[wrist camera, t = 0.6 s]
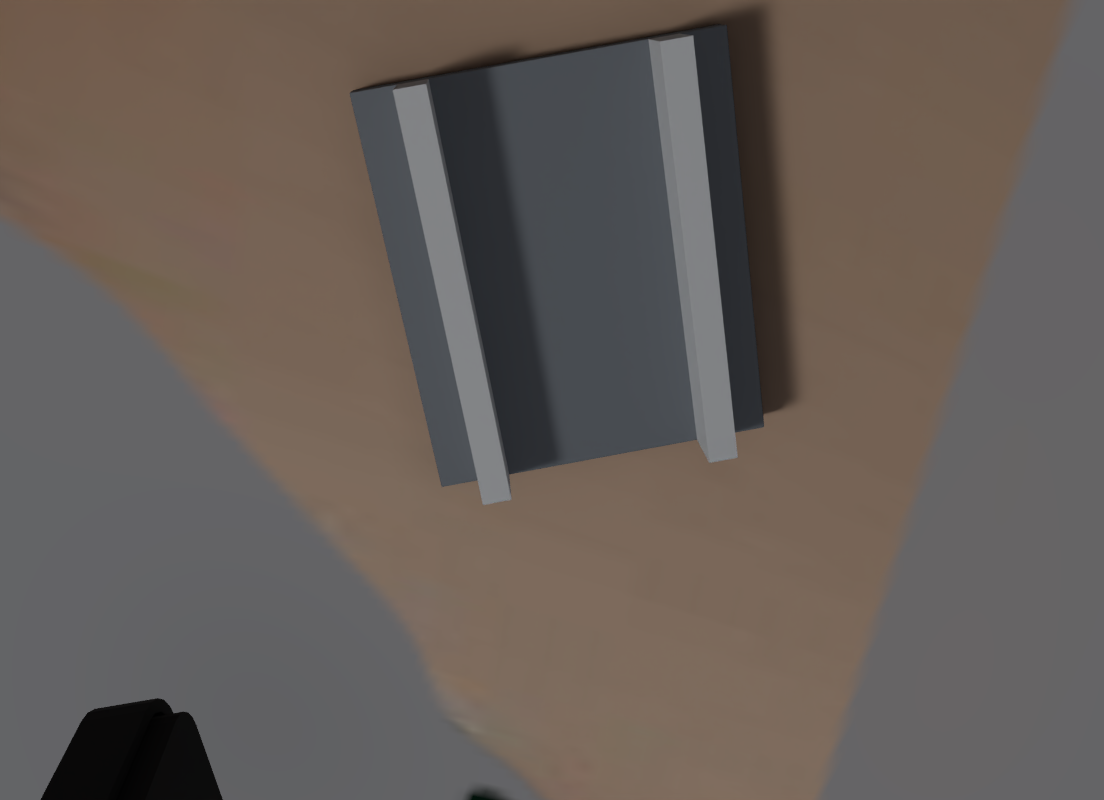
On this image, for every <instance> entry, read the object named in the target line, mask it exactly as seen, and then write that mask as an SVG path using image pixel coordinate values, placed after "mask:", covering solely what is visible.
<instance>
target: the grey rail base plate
mask: <svg viewBox="0 0 1104 800" xmlns="http://www.w3.org/2000/svg"><path fill="white" fill-rule="evenodd" d="M350 97H351V101H352V105H353V110H354V114H355V118H356V122H357V127H358V131H359V135H360V139H361V144H362V148H363V152H364V157H365V161H366V165H367V169H368V174H369V178H370V182H371V186H372V191H373V195H374V199H375V204H376V208H377V212H378V216H379V221H380V225H381V229H382V233H383V238H384V242H385V246H386V251H387V255H388V259H389V263H390V268H391V272H392V276H393V280H394V285H395V289H396V293H397V298H398V302H399V306H400V310H401V315H402V319H403V323H404V327H405V332H406V336H407V340H408V345H409V349H410V353H411V357H412V362H413V366H414V370H415V374H416V379H417V383H418V387H419V392H420V396H421V400H422V404H423V409H424V413H425V417H426V421H427V426H428V430H429V434H430V438H431V443H432V447H433V451H434V456H435V460H436V464H437V468H438V473H439V477H440V481H441V485H442V487H444V486H449V485H454V484H460V483H465V482H471V481H476V480H478V484H479V489H480V493H481V498H482V502H483V505H485V504H491V503H496V502H501V501H507V500H511V489H510V478H509V474H514V473H519V472H524V471H530V470H535V469H541V468H546V467H551V466H557V465H562V464H568V463H573V462H578V461H584V460H589V459H594V458H600V457H605V456H611V455H616V454H621V453H627V452H632V451H638V450H643V449H648V448H654V447H659V446H665V445H670V444H675V443H681V442H686V441H691V440H698V442H699V444H700V446H701V448H702V450H703V452H704V454H705V455H706V457H707V459H708V461H709V463H711V462H717V461H722V460H727V459H733V458H738V457H737V447H736V438H735V432H740V431H745V430H751V429H756V428H762V427H764V421H763V410H762V400H761V389H760V378H759V367H758V357H757V346H756V335H755V324H754V314H753V303H752V292H751V281H750V271H749V260H748V249H747V238H746V228H745V217H744V206H743V195H742V185H741V174H740V163H739V152H738V141H737V131H736V120H735V109H734V98H733V88H732V77H731V66H730V55H729V45H728V34H727V25H721V24H718V25H713V26H707V27H701V28H696V29H690V30H685V31H679V32H674V33H668V34H663V35H657V36H652V37H646V38H641V39H635V40H630V41H624V42H618V43H613V44H607V45H602V46H596V47H591V48H585V49H580V50H574V51H569V52H563V53H558V54H552V55H547V56H541V57H535V58H530V59H524V60H519V61H513V62H508V63H502V64H497V65H491V66H486V67H480V68H475V69H469V70H464V71H458V72H452V73H447V74H441V75H436V76H430V77H425V78H419V79H414V80H408V81H403V82H397V83H392V84H386V85H381V86H375V87H369V88H364V89H358V90H353V91H352V92H350Z"/></svg>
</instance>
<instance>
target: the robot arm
mask: <svg viewBox="0 0 1104 800" xmlns="http://www.w3.org/2000/svg"><path fill="white" fill-rule="evenodd" d="M41 800H223V799H222V796H221V794H220V791H219V788H218V785H217V782H216V780H215V777H214V774H213V771H212V768H211V765H210V763H209V760H208V757H207V754H206V752H205V749H204V746H203V743H202V740H201V737H200V734H199V732H198V729H197V726H196V724H195V721H194V720H193V717H192V716H191V715H190V714H189V713H187V712H179V713H174V714H173V712H172V709H171V708H170V706H169V705H168V704H167V703H166V702H165V700H162V699H158V698H157V699H151V700H145V701H140V702H133V703H128V704H122V705H116V706H110V707H104V708H98V709H94V710H92V711H90V712H88V713H87V714H86V716H85V717H84V719H83V720H82V721H81V723H80V725H79V727H78V729H77V731H76V733H75V735H74V737H73V738H72V740H71V743H70V744H69V746H68V748H67V750H66V752H65V754H64V756H63V758H62V760H61V762H60V763H59V765H58V767H57V769H56V771H55V773H54V775H53V777H52V779H51V781H50V783H49V785H48V786H47V788H46V790H45V792H44V794H43V796H42V798H41Z"/></svg>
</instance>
